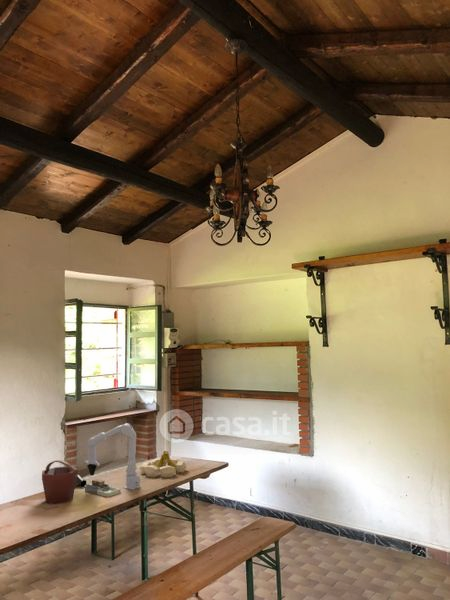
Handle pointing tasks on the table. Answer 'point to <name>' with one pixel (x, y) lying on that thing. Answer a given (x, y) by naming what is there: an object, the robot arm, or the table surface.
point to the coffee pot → (80, 481)
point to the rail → (95, 488)
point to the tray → (109, 492)
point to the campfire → (163, 466)
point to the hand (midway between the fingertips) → (92, 475)
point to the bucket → (59, 483)
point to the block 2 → (100, 483)
